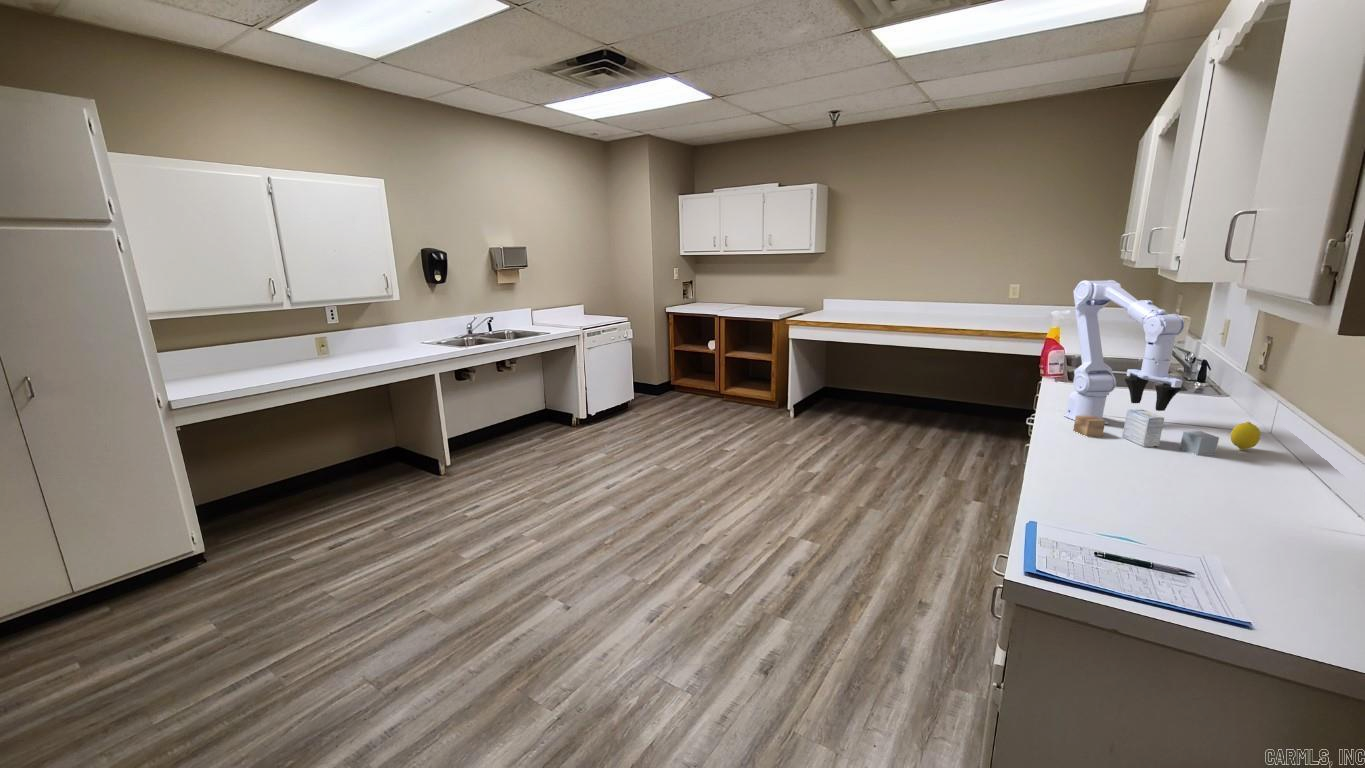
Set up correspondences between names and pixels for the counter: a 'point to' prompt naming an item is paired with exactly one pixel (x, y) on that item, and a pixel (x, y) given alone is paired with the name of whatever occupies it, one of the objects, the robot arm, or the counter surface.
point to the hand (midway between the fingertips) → (1147, 406)
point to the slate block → (1199, 443)
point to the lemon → (1245, 435)
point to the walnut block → (1089, 425)
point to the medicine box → (1143, 427)
